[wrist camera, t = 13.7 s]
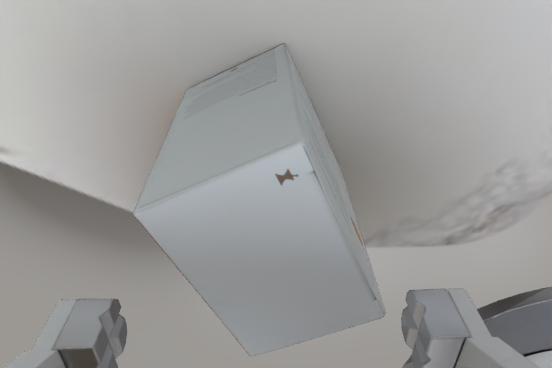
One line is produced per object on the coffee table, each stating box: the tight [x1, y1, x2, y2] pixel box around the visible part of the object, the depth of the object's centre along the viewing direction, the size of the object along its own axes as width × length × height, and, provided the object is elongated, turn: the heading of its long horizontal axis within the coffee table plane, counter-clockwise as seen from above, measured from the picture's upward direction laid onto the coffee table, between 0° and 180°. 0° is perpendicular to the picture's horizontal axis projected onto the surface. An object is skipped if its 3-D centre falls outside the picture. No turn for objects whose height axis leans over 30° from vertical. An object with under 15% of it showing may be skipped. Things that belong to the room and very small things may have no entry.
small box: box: [133, 44, 386, 356], centre depth 18 cm, size 8×6×10 cm
